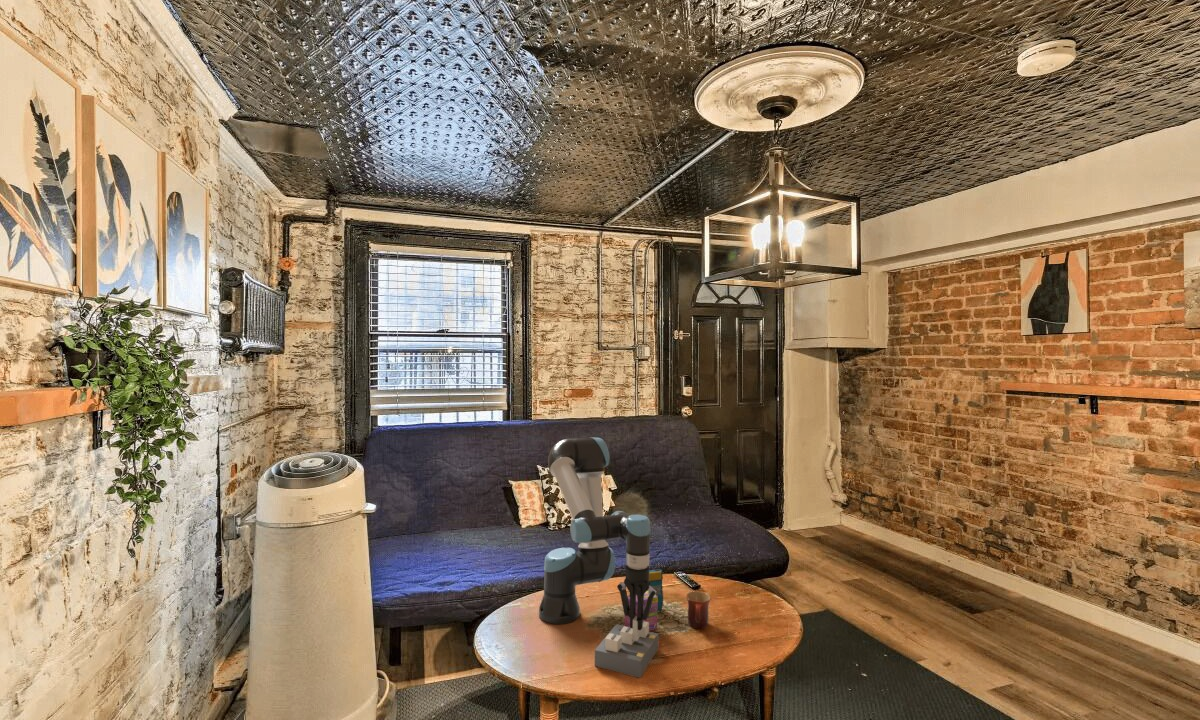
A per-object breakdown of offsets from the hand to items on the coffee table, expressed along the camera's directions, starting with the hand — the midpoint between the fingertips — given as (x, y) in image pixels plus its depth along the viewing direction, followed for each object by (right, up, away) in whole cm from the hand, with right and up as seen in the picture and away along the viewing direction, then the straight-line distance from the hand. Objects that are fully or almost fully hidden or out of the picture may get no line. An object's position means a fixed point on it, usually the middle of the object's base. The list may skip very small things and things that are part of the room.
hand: (636, 638), depth 175 cm
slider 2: (-3, -1, +1) cm, 3 cm away
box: (+3, -7, +19) cm, 21 cm away
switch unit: (-3, -6, +1) cm, 7 cm away
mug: (+24, -7, +21) cm, 32 cm away
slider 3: (+2, -1, +5) cm, 6 cm away
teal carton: (+8, -6, +32) cm, 34 cm away
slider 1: (-7, -1, -4) cm, 8 cm away
